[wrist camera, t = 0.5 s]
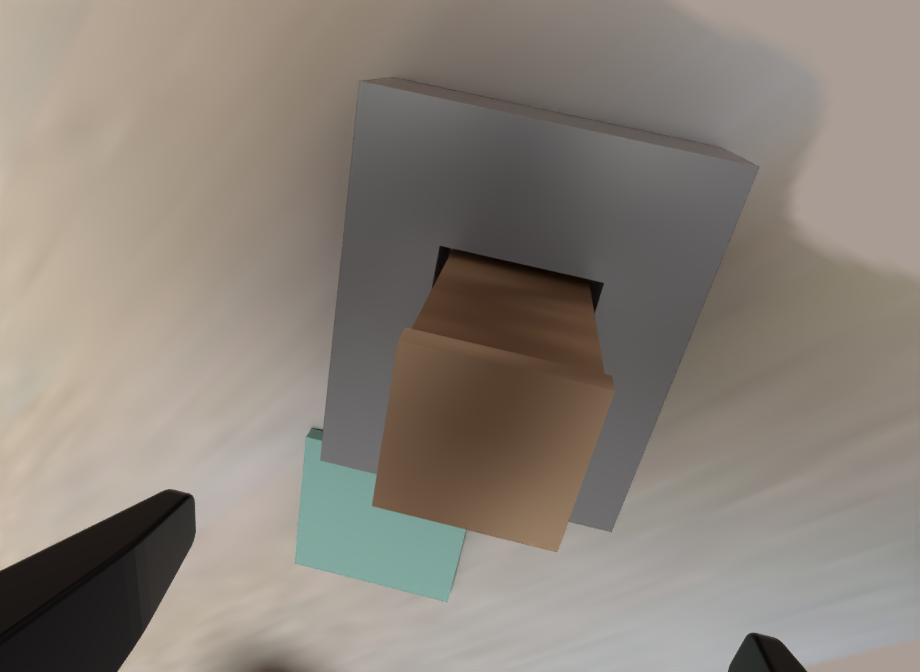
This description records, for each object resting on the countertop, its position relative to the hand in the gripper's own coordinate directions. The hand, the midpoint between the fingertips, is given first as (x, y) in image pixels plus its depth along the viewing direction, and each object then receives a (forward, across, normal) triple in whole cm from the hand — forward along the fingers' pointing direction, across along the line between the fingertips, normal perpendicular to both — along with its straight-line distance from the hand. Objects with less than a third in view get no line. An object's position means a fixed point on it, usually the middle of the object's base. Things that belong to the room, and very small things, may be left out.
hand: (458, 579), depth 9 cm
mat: (+12, +3, +11) cm, 17 cm away
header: (+12, 0, 0) cm, 12 cm away
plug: (+12, 0, 0) cm, 12 cm away
